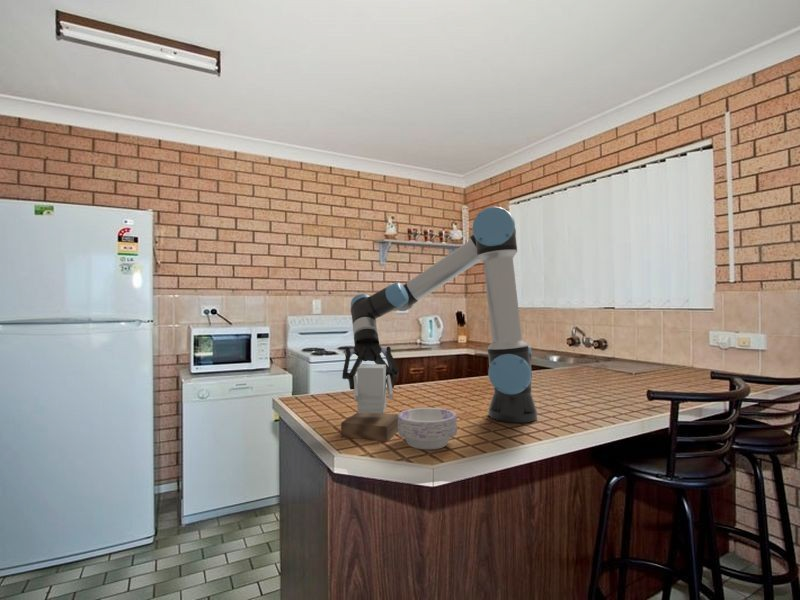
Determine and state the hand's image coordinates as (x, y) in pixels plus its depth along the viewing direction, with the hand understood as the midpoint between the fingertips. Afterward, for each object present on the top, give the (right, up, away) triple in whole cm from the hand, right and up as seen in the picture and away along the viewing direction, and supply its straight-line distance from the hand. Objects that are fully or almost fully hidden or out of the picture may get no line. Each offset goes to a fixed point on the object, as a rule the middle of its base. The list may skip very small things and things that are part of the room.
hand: (373, 397), depth 117 cm
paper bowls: (+14, -11, -7) cm, 19 cm away
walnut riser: (-1, -11, +3) cm, 11 cm away
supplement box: (-1, -5, +3) cm, 6 cm away
